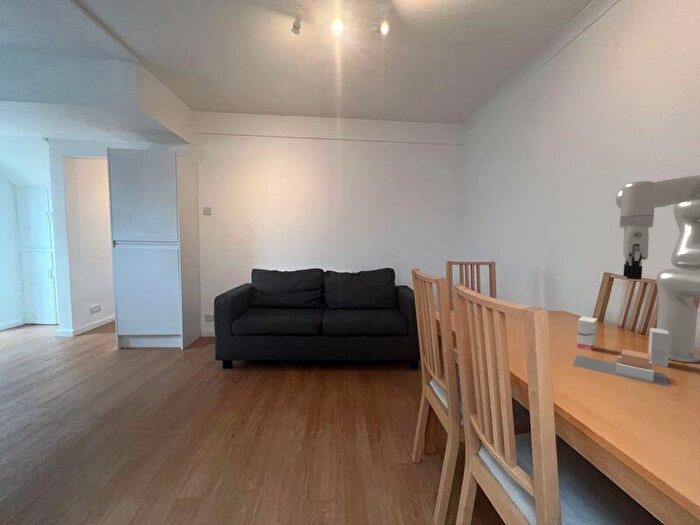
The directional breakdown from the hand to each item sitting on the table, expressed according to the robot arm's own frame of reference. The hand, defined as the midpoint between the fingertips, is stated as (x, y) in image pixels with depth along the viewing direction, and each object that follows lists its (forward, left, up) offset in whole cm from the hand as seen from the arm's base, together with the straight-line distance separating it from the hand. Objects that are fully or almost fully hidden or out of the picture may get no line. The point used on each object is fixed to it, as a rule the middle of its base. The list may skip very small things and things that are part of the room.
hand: (631, 277), depth 94 cm
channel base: (+3, -2, -30) cm, 30 cm away
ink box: (-17, -11, -30) cm, 37 cm away
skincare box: (-13, +8, -30) cm, 34 cm away
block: (+3, +2, -29) cm, 29 cm away
